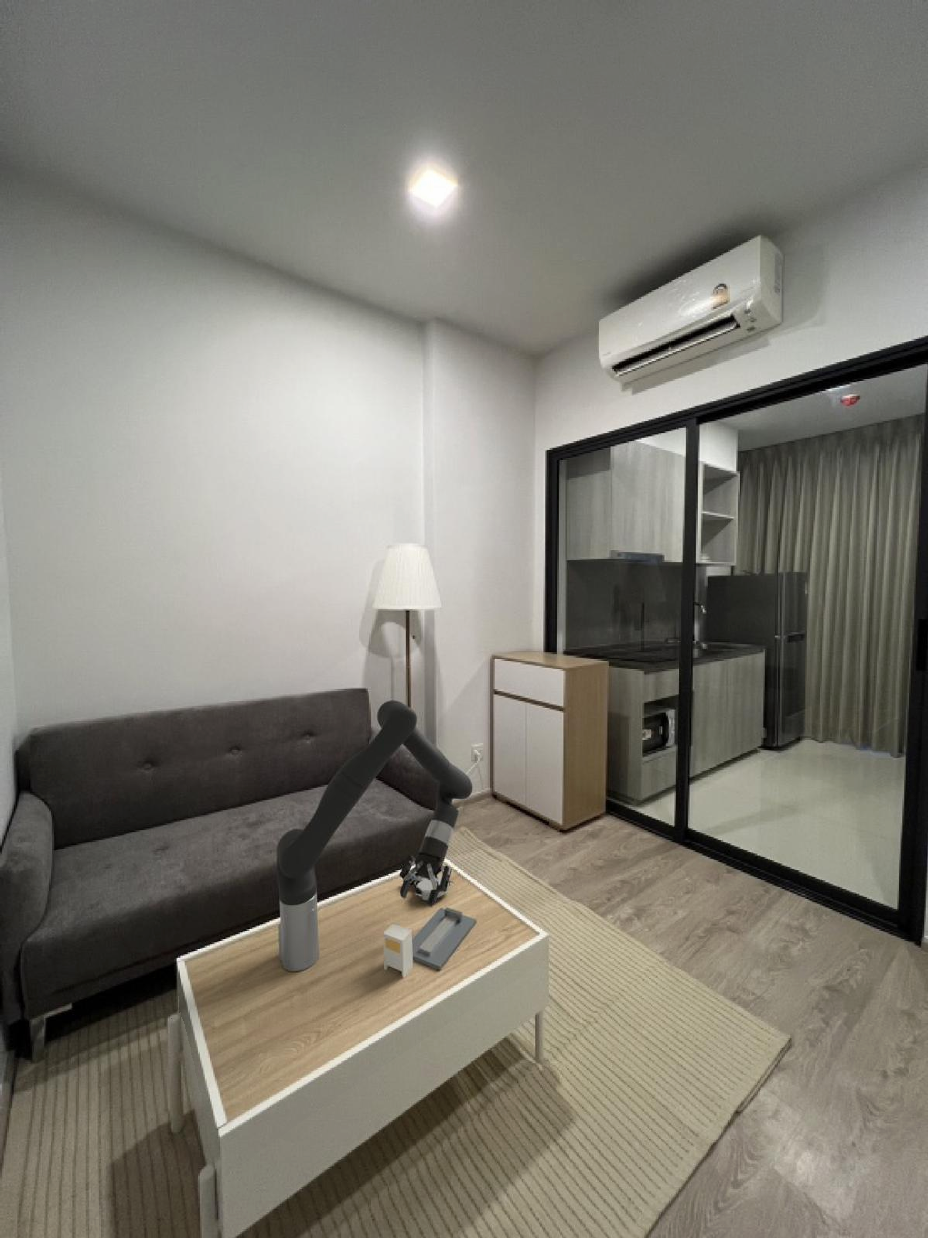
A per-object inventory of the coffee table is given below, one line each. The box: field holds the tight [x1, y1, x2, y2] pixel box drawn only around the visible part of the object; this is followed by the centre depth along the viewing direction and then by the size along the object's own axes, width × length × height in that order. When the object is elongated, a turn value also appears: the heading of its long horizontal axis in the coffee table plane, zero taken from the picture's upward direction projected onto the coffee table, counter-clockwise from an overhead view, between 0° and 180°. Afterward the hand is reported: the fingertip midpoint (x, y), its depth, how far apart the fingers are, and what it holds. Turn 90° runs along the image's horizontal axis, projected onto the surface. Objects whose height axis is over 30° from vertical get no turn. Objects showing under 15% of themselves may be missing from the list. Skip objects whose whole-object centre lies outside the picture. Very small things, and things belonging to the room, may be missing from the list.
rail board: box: [412, 907, 477, 971], centre depth 133 cm, size 12×20×1 cm, turn 152°
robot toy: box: [402, 875, 456, 901], centre depth 155 cm, size 12×4×15 cm
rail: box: [419, 907, 463, 956], centre depth 133 cm, size 5×16×2 cm, turn 152°
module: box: [382, 923, 414, 978], centre depth 123 cm, size 6×4×9 cm
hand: (415, 901), depth 130 cm, fingers open, 8 cm apart
